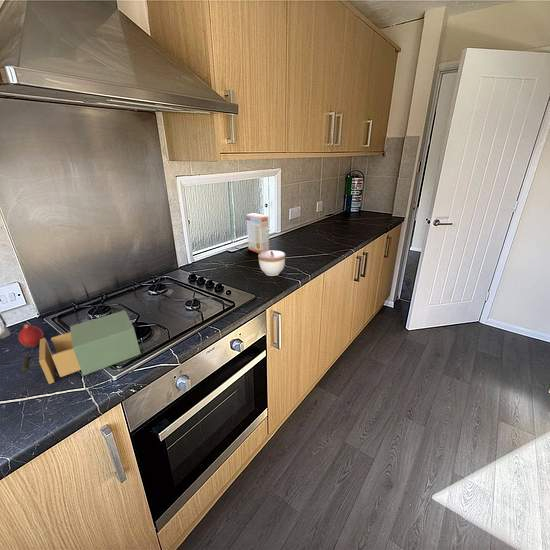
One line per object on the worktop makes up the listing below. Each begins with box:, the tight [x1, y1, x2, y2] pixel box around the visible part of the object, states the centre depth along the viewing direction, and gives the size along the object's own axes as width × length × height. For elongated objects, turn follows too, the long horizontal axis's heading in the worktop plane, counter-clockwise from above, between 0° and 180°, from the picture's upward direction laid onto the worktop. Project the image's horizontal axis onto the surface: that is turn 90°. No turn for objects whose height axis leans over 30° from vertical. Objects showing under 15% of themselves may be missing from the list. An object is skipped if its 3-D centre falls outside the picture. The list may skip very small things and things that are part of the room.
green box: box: [69, 310, 142, 377], centre depth 85 cm, size 15×13×9 cm
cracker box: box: [245, 212, 270, 255], centre depth 165 cm, size 14×6×21 cm, turn 37°
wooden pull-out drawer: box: [20, 331, 81, 385], centre depth 79 cm, size 18×11×7 cm, turn 126°
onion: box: [18, 324, 44, 348], centre depth 89 cm, size 6×6×8 cm
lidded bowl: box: [257, 250, 286, 277], centre depth 136 cm, size 13×13×11 cm
